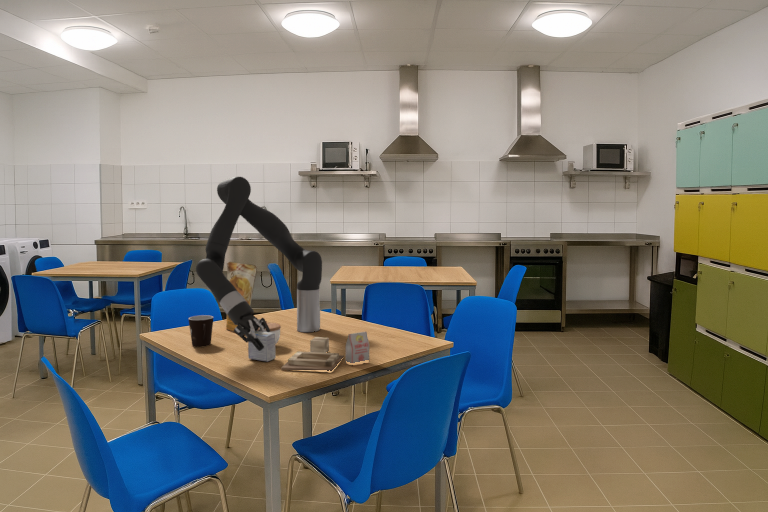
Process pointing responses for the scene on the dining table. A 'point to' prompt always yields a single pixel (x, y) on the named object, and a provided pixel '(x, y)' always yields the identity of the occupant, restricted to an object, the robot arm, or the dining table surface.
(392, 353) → the dining table surface
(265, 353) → the medicine box
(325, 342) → the maple block
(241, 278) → the pancake mix bag
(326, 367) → the socket plate
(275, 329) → the lidded jar
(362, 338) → the white paper bag
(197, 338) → the coffee mug
